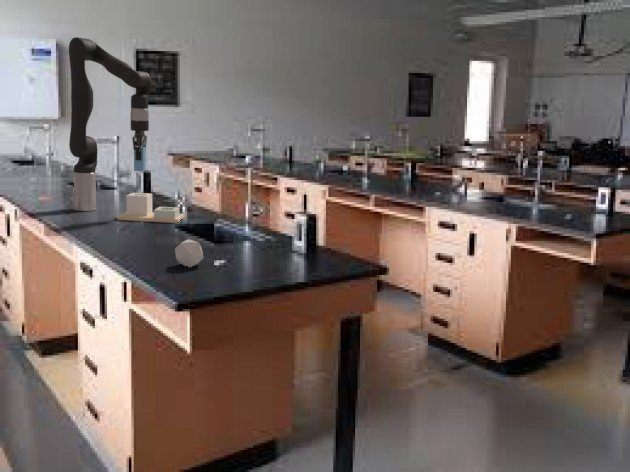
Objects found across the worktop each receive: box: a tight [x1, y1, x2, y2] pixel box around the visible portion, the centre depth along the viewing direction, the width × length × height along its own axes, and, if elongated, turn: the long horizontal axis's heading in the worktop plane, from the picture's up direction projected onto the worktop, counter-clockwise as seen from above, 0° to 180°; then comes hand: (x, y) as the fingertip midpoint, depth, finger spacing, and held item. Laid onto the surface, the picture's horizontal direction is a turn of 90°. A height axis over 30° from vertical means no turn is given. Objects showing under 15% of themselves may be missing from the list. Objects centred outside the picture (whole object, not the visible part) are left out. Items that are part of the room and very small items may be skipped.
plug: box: [133, 146, 147, 172], centre depth 276 cm, size 4×4×10 cm
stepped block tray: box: [117, 192, 186, 224], centre depth 278 cm, size 26×14×10 cm, turn 89°
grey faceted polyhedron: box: [174, 238, 204, 268], centre depth 204 cm, size 8×9×10 cm
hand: (139, 159), depth 276 cm, fingers closed on plug, 4 cm apart
